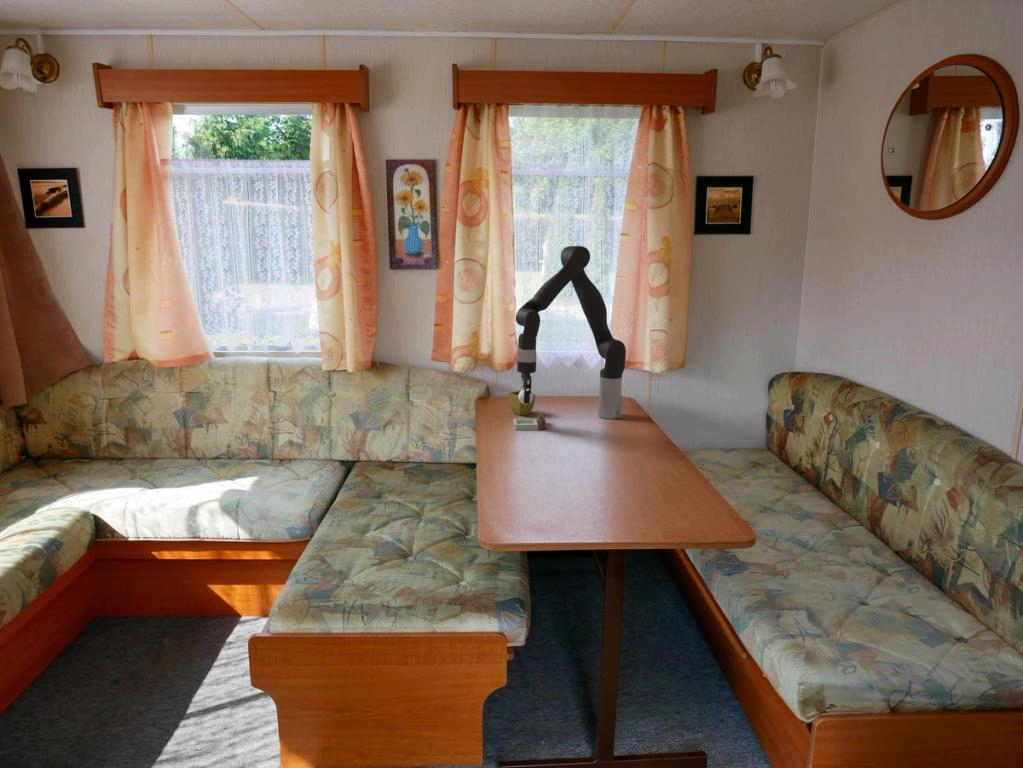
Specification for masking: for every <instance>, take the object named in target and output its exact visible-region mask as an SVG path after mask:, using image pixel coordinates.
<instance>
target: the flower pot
mask: <svg viewBox="0 0 1023 768" xmlns="http://www.w3.org/2000/svg"><path fill="white" fill-rule="evenodd" d="M520 391H521V390H517V391H512V392H508V393H507V397H508V398H507V399H508V405H509V409H510V410H511V412H512V413H513V414H515V415H517V416H518V415H519V416H524V415H529V414H530V413H531V412H532V411H533V409H534V405H535V402H536V401H535V400H536V393H533V400H532V402H531V403H529V404H522V403H521V402H520V401H519V398H518V395H519V393H520Z"/></svg>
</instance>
